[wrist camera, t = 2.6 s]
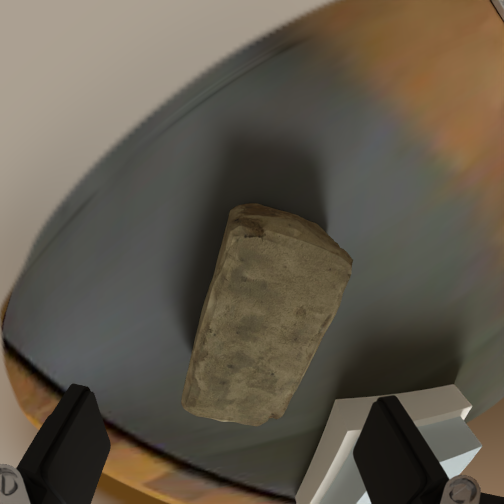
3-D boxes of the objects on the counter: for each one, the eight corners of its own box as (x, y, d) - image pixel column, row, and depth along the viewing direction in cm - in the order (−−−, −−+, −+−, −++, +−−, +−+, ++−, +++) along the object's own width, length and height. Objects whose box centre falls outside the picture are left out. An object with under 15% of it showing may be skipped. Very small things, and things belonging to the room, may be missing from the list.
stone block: (188, 366, 19) (175, 418, 14) (233, 193, 16) (229, 202, 11) (271, 385, 19) (278, 437, 14) (333, 224, 17) (367, 244, 12)
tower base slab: (333, 394, 20) (347, 431, 16) (450, 380, 21) (472, 405, 17) (294, 492, 24) (299, 520, 21) (390, 478, 25) (400, 501, 21)
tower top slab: (358, 436, 17) (374, 479, 13) (460, 416, 17) (482, 445, 13) (310, 516, 20) (316, 546, 16) (396, 500, 21) (406, 525, 17)
